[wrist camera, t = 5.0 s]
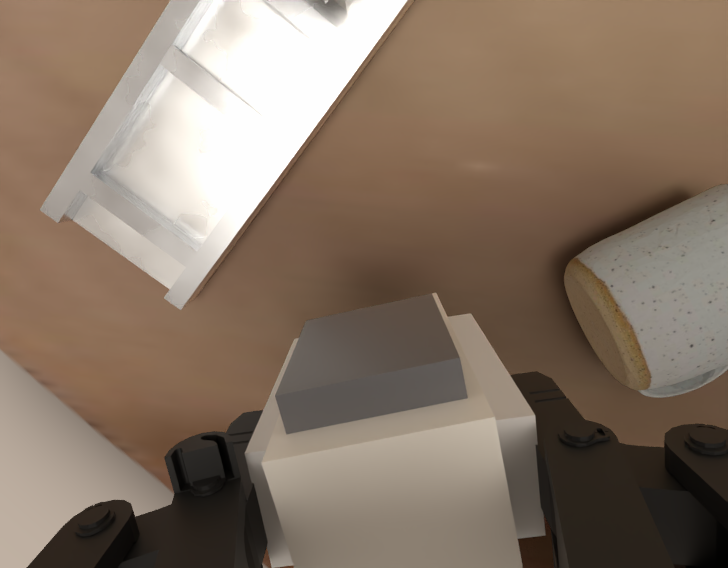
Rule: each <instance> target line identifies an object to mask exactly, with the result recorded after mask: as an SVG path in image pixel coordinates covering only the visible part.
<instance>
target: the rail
mask: <svg viewBox="0 0 728 568" xmlns="http://www.w3.org/2000/svg"><path fill="white" fill-rule="evenodd" d="M414 1H415V0H354V2H353V3H352V5H351V6H350V8H349V9H348V10H347V11H346V10H345V9H344V8H342V7H341V6H340V5H339V4H338V3H337V2H335V1H334V0H329V1H328V2H327V3H326V4H325V3H323V2H322V1H321V0H170V2H169V3H168V5H167V7H166V8H165V10H164V11H163V13H162V15H161V16H160V18H159V19H158V21H157V23H156V24H155V26H154V27H153V29H152V31H151V32H150V34H149V36H148V37H147V39H146V40H145V42H144V44H143V45H142V47H141V48H140V50H139V52H138V53H137V55H136V56H135V58H134V60H133V61H132V63H131V64H130V66H129V68H128V69H127V71H126V72H125V74H124V76H123V77H122V79H121V80H120V82H119V84H118V85H117V87H116V88H115V90H114V92H113V93H112V95H111V96H110V98H109V100H108V101H107V103H106V104H105V106H104V108H103V109H102V111H101V112H100V114H99V116H98V117H97V119H96V120H95V122H94V124H93V125H92V127H91V129H90V130H89V132H88V133H87V135H86V137H85V138H84V140H83V141H82V143H81V145H80V146H79V148H78V149H77V151H76V153H75V154H74V156H73V157H72V159H71V161H70V162H69V164H68V165H67V167H66V169H65V170H64V172H63V173H62V175H61V177H60V178H59V180H58V181H57V183H56V185H55V186H54V188H53V189H52V191H51V193H50V194H49V196H48V197H47V199H46V201H45V202H44V204H43V205H42V207H41V209H40V210H41V211H42V212H43V213H45V214H46V215H48V216H49V217H50V218H52V219H53V220H55V221H56V222H57V223H60V222H65V221H69V220H73V221H75V222H76V223H78V224H79V225H80V226H82V227H83V228H85V229H86V230H87V231H89V232H90V233H92V234H93V235H94V236H96V237H97V238H99V239H100V240H101V241H103V242H104V243H106V244H107V245H108V246H110V247H111V248H113V249H114V250H115V251H117V252H118V253H120V254H121V255H122V256H124V257H125V258H127V259H128V260H129V261H131V262H132V263H134V264H135V265H136V266H138V267H139V268H141V269H142V270H143V271H145V272H146V273H148V274H149V275H150V276H152V277H153V278H155V279H156V280H157V281H159V282H160V283H162V284H163V285H164V286H166V287H167V288H169V289H170V290H169V291H168V293H167V294H166V296H165V297H164V299H166V300H167V301H169V302H170V303H171V304H173V305H174V306H176V307H177V308H179V309H180V310H181V309H182V308H184V307H185V306H186V305H187V304H189V303H190V302H191V301H192V300H193V299H195V298H196V297H197V296H198V294H199V293H200V291H201V290H202V289H203V287H204V286H205V285H206V283H207V282H208V281H209V279H210V278H211V276H212V275H213V274H214V272H215V271H216V270H217V268H218V267H219V266H220V264H221V263H222V262H223V260H224V259H225V257H226V256H227V255H228V253H229V252H230V251H231V249H232V248H233V247H234V245H235V244H236V242H237V241H238V240H239V238H240V237H241V236H242V234H243V233H244V232H245V230H246V229H247V228H248V226H249V225H250V223H251V222H252V221H253V219H254V218H255V217H256V215H257V214H258V213H259V211H260V210H261V209H262V207H263V206H264V204H265V203H266V202H267V200H268V199H269V198H270V196H271V195H272V194H273V192H274V191H275V189H276V188H277V187H278V185H279V184H280V183H281V181H282V180H283V179H284V177H285V176H286V175H287V173H288V172H289V170H290V169H291V168H292V166H293V165H294V164H295V162H296V161H297V160H298V158H299V157H300V155H301V154H302V153H303V151H304V150H305V149H306V147H307V146H308V145H309V143H310V142H311V141H312V139H313V138H314V136H315V135H316V134H317V132H318V131H319V130H320V128H321V127H322V126H323V124H324V123H325V122H326V120H327V119H328V117H329V116H330V115H331V113H332V112H333V111H334V109H335V108H336V107H337V105H338V104H339V102H340V101H341V100H342V98H343V97H344V96H345V94H346V93H347V92H348V90H349V89H350V88H351V86H352V85H353V83H354V82H355V81H356V79H357V78H358V77H359V75H360V74H361V73H362V71H363V70H364V68H365V67H366V66H367V64H368V63H369V62H370V60H371V59H372V58H373V56H374V55H375V54H376V52H377V51H378V49H379V48H380V47H381V45H382V44H383V43H384V41H385V40H386V39H387V37H388V36H389V35H390V33H391V32H392V30H393V29H394V28H395V26H396V25H397V24H398V22H399V21H400V20H401V18H402V17H403V15H404V14H405V13H406V11H407V10H408V9H409V7H410V6H411V5H412V3H413V2H414Z"/></svg>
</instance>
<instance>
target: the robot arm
mask: <svg viewBox="0 0 728 568" xmlns="http://www.w3.org/2000/svg"><path fill="white" fill-rule="evenodd" d="M448 319H449V321H450V323H451V325H452V327H453V329H454V331H455V334H456V336H457V338H458V340H459V342H460V344H461V346H462V348H463V351H464V353H465V355H466V357H467V359H468V361H469V363H470V365H471V367H472V370H473V372H474V374H475V376H476V378H477V380H478V382H479V384H480V386H481V389H482V391H483V393H484V395H485V397H486V399H487V401H488V403H489V406H490V408H491V410H492V412H493V414H494V416H495V420H496V426H497V431H498V436H499V442H500V447H501V453H502V458H503V463H504V469H505V474H506V480H507V485H508V490H509V496H510V501H511V506H512V512H513V517H514V523H515V528H516V533H517V539H519V538H527V537H536V536H544V535H545V525H544V515H545V517H546V519H547V521H548V523H549V525H550V527H551V535H552V547H553V560H554V568H728V430H726V429H723V428H719V427H717V426H713V425H708V424H707V425H705V424H689V425H681V426H677V427H674V428H672V429H670V430H669V431H668V432H667V433H665V440H664V448H662V447H646V446H634V445H626V444H622V443H619V441H618V439H617V437H616V435H615V434H614V433H613V432H612V431H611V430H610V429H609V428H607V427H605V426H603V425H601V424H598V423H595V422H591V421H587V420H585V419H584V418H583V417H582V416H581V414H580V413H579V412H578V411H577V409H576V408H575V407H574V406H573V405H572V403H571V402H570V401H569V400H568V399H566V396H565V395H564V393H563V392H562V391H561V390H560V389H559V387H558V386H557V385H556V384H555V382H554V381H553V380H552V379H551V378H549V377H547V376H545V375H543V374H541V373H539V372H537V371H536V372H529V373H522V374H514V375H510V374H509V373H508V371H507V370H506V368H505V367H504V365H503V363H502V362H501V360H500V359H499V357H498V355H497V354H496V352H495V351H494V349H493V348H492V346H491V344H490V343H489V341H488V340H487V338H486V336H485V335H484V333H483V332H482V330H481V329H480V327H479V325H478V324H477V322H476V321H475V319H474V317H473V316H472V314H471V313H470V314H463V315H456V316H449V317H448ZM298 339H299V338H296V339H294V341H293V343H292V346H291V348H290V350H289V353H288V355H287V357H286V359H285V362H284V364H283V366H282V369H281V371H280V373H279V376H278V378H277V380H276V382H275V385H274V387H273V389H272V392H271V394H270V396H269V398H268V401H267V403H266V405H265V408H264V410H260V411H253V412H246V413H243V414H242V415H241V416H239V417H238V418H237V419H236V420H235V421H233V422H232V423H231V424H230V426H229V428H228V430H227V432H226V433H225V432H215V431H214V432H207V433H201V434H198V435H195V436H192V437H189V438H187V439H185V440H183V441H181V442H179V443H178V444H177V445H175V446H174V447H173V448H171V449H170V450H169V451H168V453H167V454H166V456H165V457H164V458H165V462H166V465H167V469H168V472H169V476H170V479H171V483H172V486H173V490H174V493H175V494H174V498H173V501H172V504H171V505H168V506H166V507H163V508H161V509H158V510H155V511H152V512H149V513H146V514H143V515H140V516H136V517H135V515H134V512H133V509H132V506H131V504H130V503H129V502H127V501H125V500H111V501H107V502H100V503H98V504H95V505H94V506H93V505H92V506H90V507H88V508H86V509H85V510H84V511H82V512H81V513H79V514H77V515H76V516H74V517H73V518H72V519H71V520H70V521H69V522H67V523H66V524H65V525H64V526H63V527H62V528H61V529H60V530H59V532H58V533H57V534H56V535H55V536H54V537H53V538H52V540H51V541H50V542H49V543H48V544H47V545H46V546H45V547H44V549H43V550H42V551H41V552H40V553H39V554H38V555H37V557H36V558H35V559H34V560H33V561H32V562H31V563H30V565H29V566H28V567H27V568H263V566H262V562H263V558H264V554H265V551H266V547H267V549H268V554H269V558H270V562H271V566H272V568H274V567H282V566H291V565H293V562H292V559H291V556H290V552H289V549H288V546H287V543H286V540H285V536H284V533H283V530H282V527H281V523H280V520H279V517H278V514H277V511H276V507H275V504H274V501H273V498H272V495H271V491H270V488H269V485H268V482H267V479H266V475H265V472H264V469H263V466H262V460H263V457H264V455H265V452H266V449H267V447H268V444H269V441H270V438H271V436H272V433H273V430H274V427H275V425H276V422H277V419H278V417H279V414H280V411H279V408H278V404H277V401H276V398H275V394H276V392H277V390H278V387H279V385H280V382H281V380H282V378H283V375H284V373H285V370H286V368H287V366H288V363H289V361H290V358H291V356H292V353H293V351H294V349H295V346H296V344H297V341H298Z"/></svg>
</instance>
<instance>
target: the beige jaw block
mask: <svg viewBox="0 0 728 568" xmlns="http://www.w3.org/2000/svg"><path fill="white" fill-rule="evenodd" d="M275 398H276V401H277V404H278V408H279V411H280V414H279V417H278V419H277V422H276V425H275V427H274V430H273V433H272V436H271V438H270V441H269V444H268V447H267V449H266V452H265V455H264V457H263V460H262V466H263V469H264V472H265V475H266V479H267V482H268V485H269V488H270V491H271V495H272V498H273V501H274V504H275V507H276V511H277V514H278V517H279V520H280V523H281V527H282V530H283V533H284V536H285V540H286V543H287V546H288V549H289V552H290V556H291V559H292V562H293V565H294V568H523V566H522V560H521V555H520V550H519V544H518V539H517V533H516V528H515V523H514V517H513V512H512V506H511V501H510V496H509V490H508V485H507V480H506V474H505V469H504V463H503V458H502V453H501V447H500V442H499V436H498V431H497V426H496V420H495V416H494V414H493V412H492V410H491V408H490V406H489V403H488V401H487V399H486V397H485V395H484V393H483V391H482V389H481V386H480V384H479V382H478V380H477V378H476V376H475V374H474V372H473V370H472V367H471V365H470V363H469V361H468V359H467V357H466V355H465V353H464V351H463V348H462V346H461V344H460V342H459V340H458V338H457V336H456V334H455V331H454V329H453V327H452V325H451V323H450V321H449V319H448V317H447V315H446V312H445V310H444V308H443V306H442V304H441V302H440V300H439V298H438V296H437V293H432V294H427V295H423V296H418V297H413V298H409V299H404V300H399V301H395V302H390V303H385V304H381V305H376V306H371V307H367V308H362V309H358V310H353V311H348V312H344V313H339V314H334V315H330V316H325V317H320V318H316V319H311V320H307V321H306V322H305V325H304V327H303V329H302V332H301V334H300V337H299V339H298V341H297V344H296V346H295V349H294V351H293V353H292V356H291V358H290V361H289V363H288V366H287V368H286V370H285V373H284V375H283V378H282V380H281V382H280V385H279V387H278V390H277V392H276V394H275Z"/></svg>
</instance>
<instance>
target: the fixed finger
mask: <svg viewBox="0 0 728 568" xmlns="http://www.w3.org/2000/svg"><path fill="white" fill-rule="evenodd" d="M321 1H322V2H323V3H325V4H326V3H327V2H328V1H329V0H321ZM334 1H335V2H337V3H338V4H339V5H340V6H341V7H342V8H344V9H345V10H346V11H347V10H348V9H349V8H350V6H351V5H352V3H353V2H354V0H334Z"/></svg>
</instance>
